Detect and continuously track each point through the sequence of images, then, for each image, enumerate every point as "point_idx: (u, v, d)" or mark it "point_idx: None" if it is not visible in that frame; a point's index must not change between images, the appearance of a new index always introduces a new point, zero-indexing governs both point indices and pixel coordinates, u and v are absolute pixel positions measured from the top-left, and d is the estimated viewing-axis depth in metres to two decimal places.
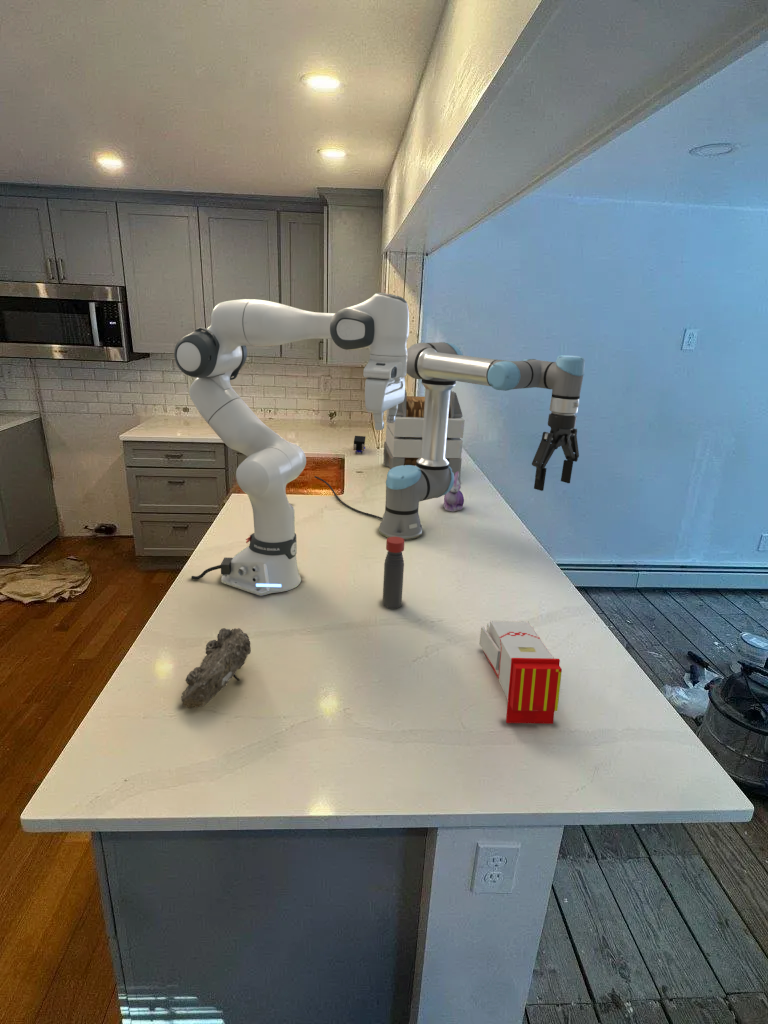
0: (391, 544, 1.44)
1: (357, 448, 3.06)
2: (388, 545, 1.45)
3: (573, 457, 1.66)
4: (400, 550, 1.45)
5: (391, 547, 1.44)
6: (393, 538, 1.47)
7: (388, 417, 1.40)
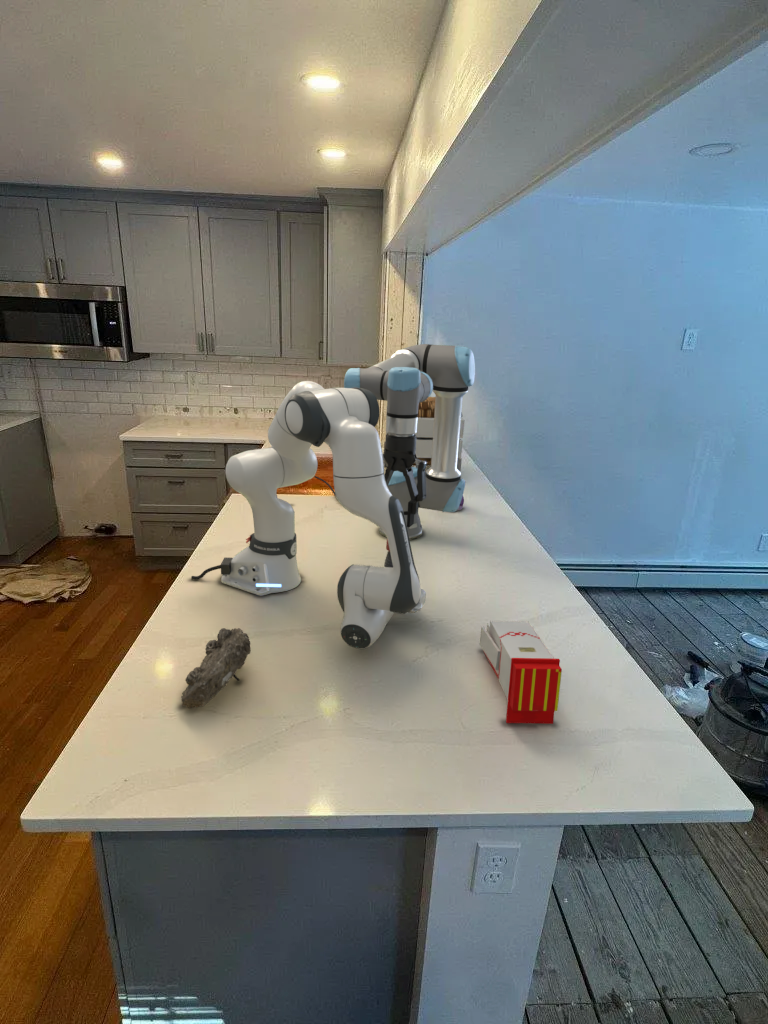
0: None
1: None
2: (388, 545, 1.45)
3: None
4: None
5: None
6: None
7: None
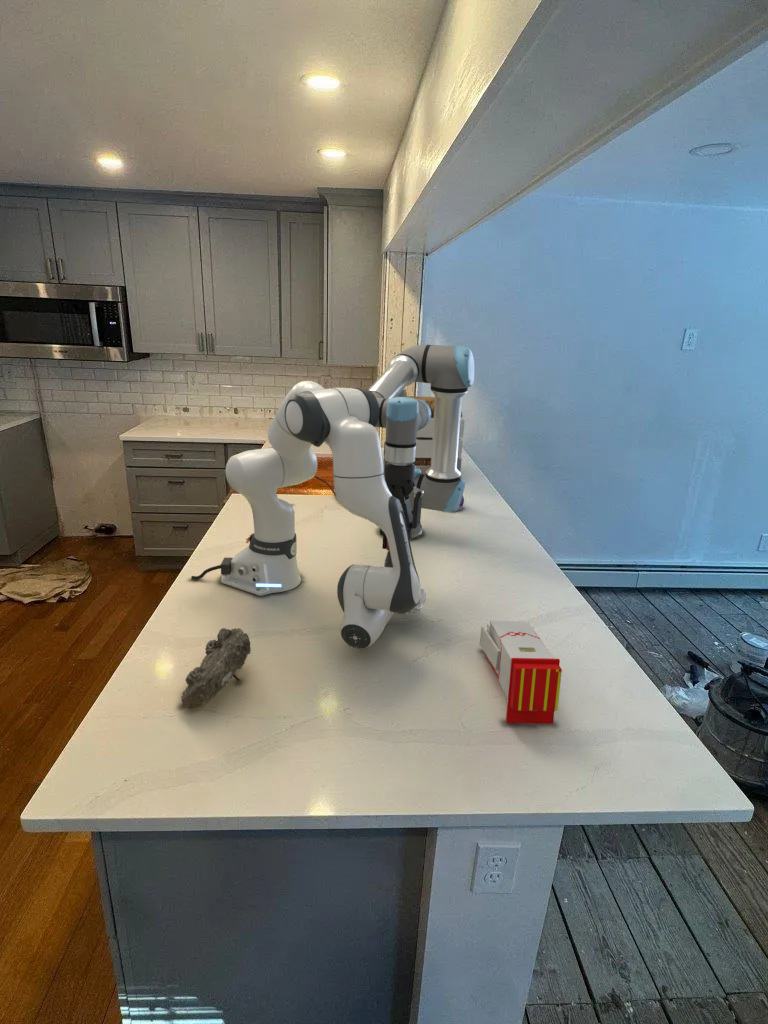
0: None
1: None
2: (388, 545, 1.45)
3: None
4: None
5: None
6: None
7: None
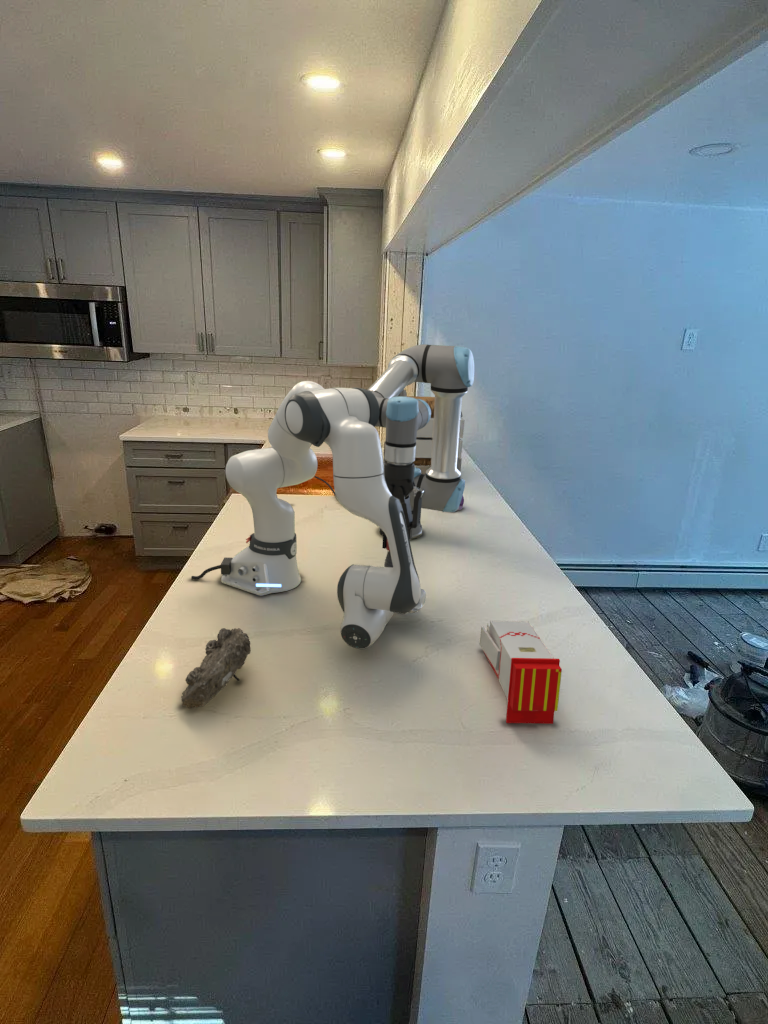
0: None
1: None
2: None
3: None
4: None
5: None
6: None
7: None
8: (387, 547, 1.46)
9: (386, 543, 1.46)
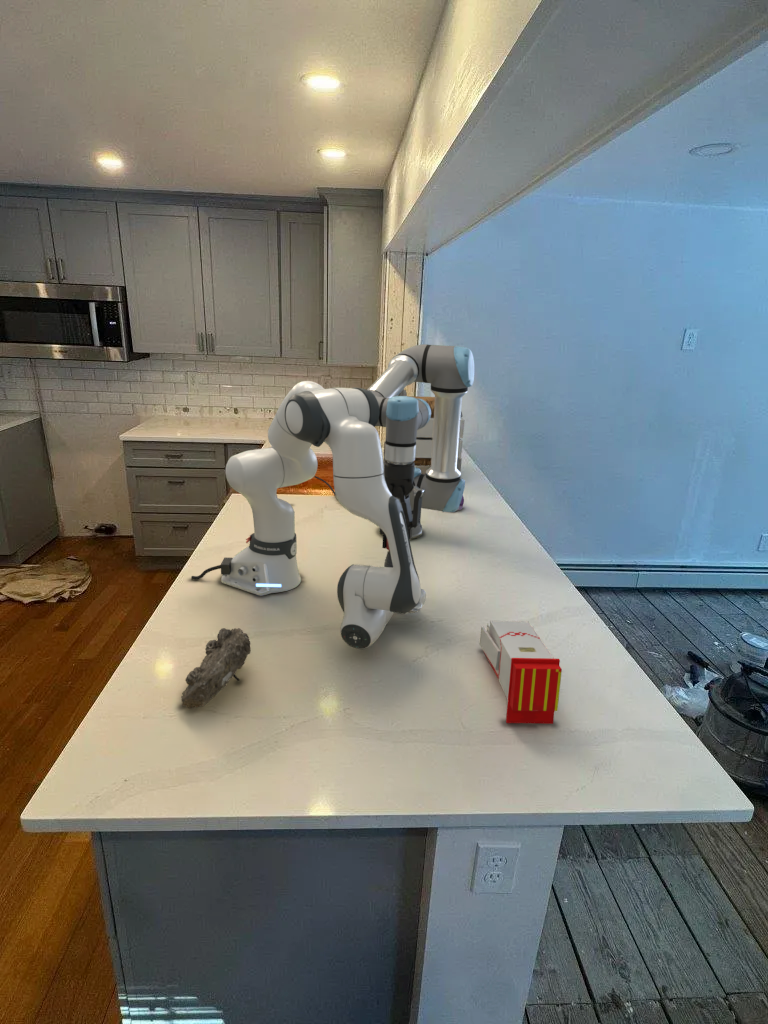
0: None
1: None
2: None
3: None
4: (386, 546, 1.46)
5: None
6: None
7: None
8: None
9: None
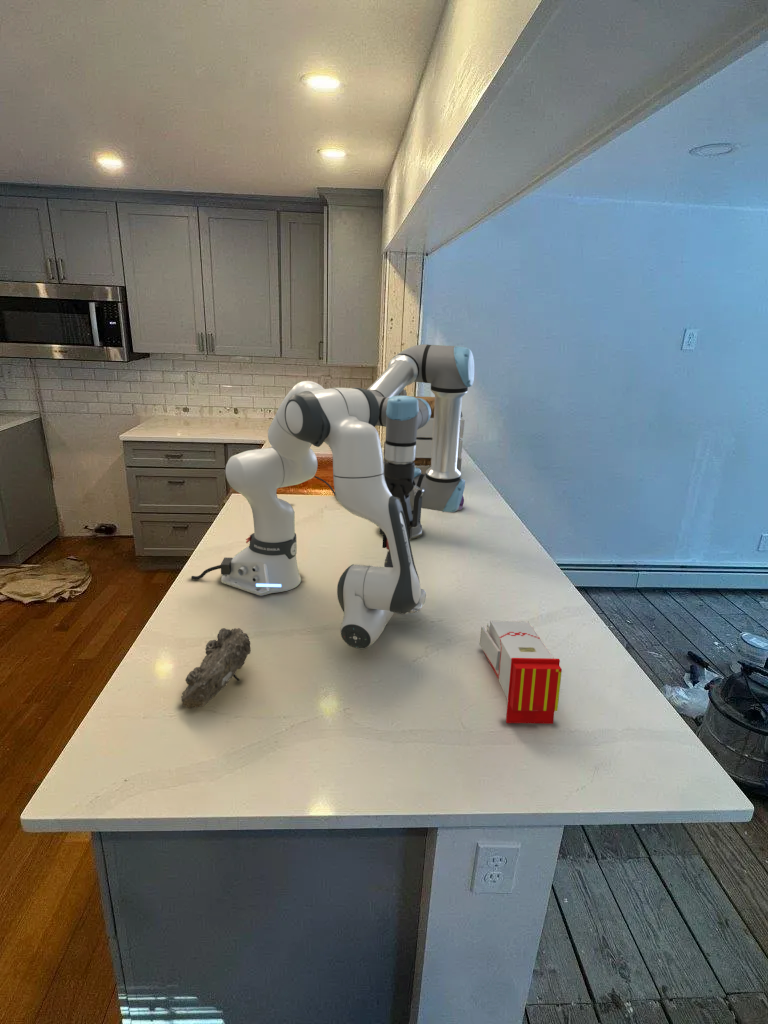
0: None
1: None
2: (387, 544, 1.45)
3: None
4: None
5: None
6: None
7: None
8: None
9: None
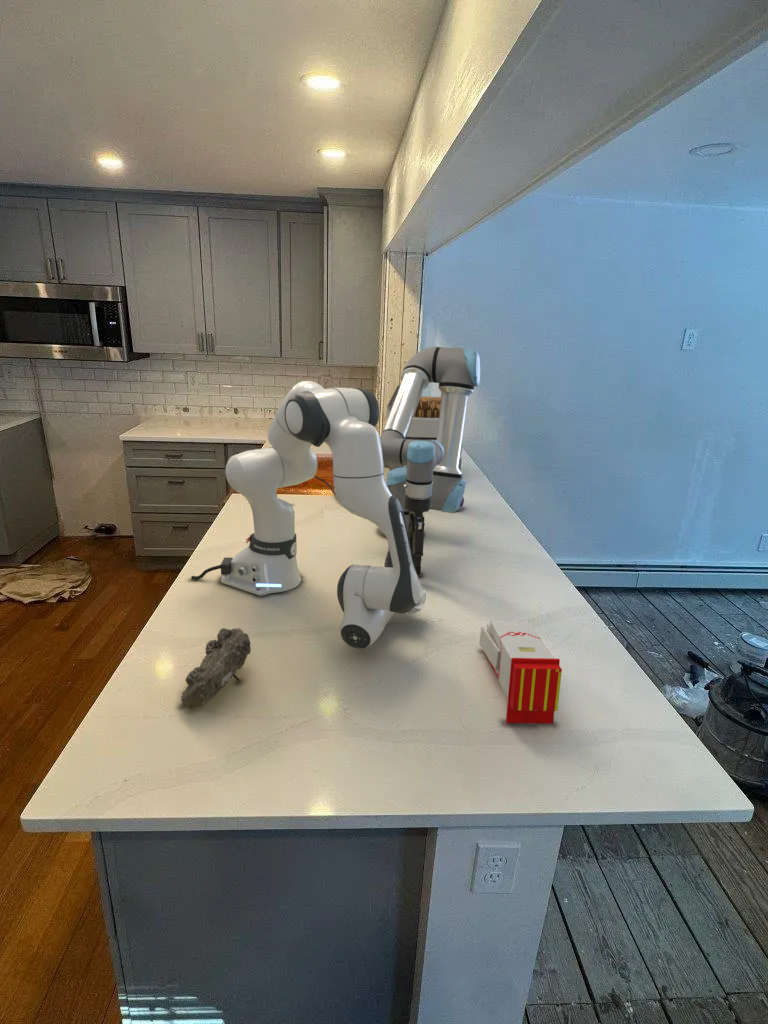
0: None
1: None
2: None
3: (413, 550, 1.62)
4: None
5: (420, 570, 1.69)
6: None
7: None
8: None
9: None
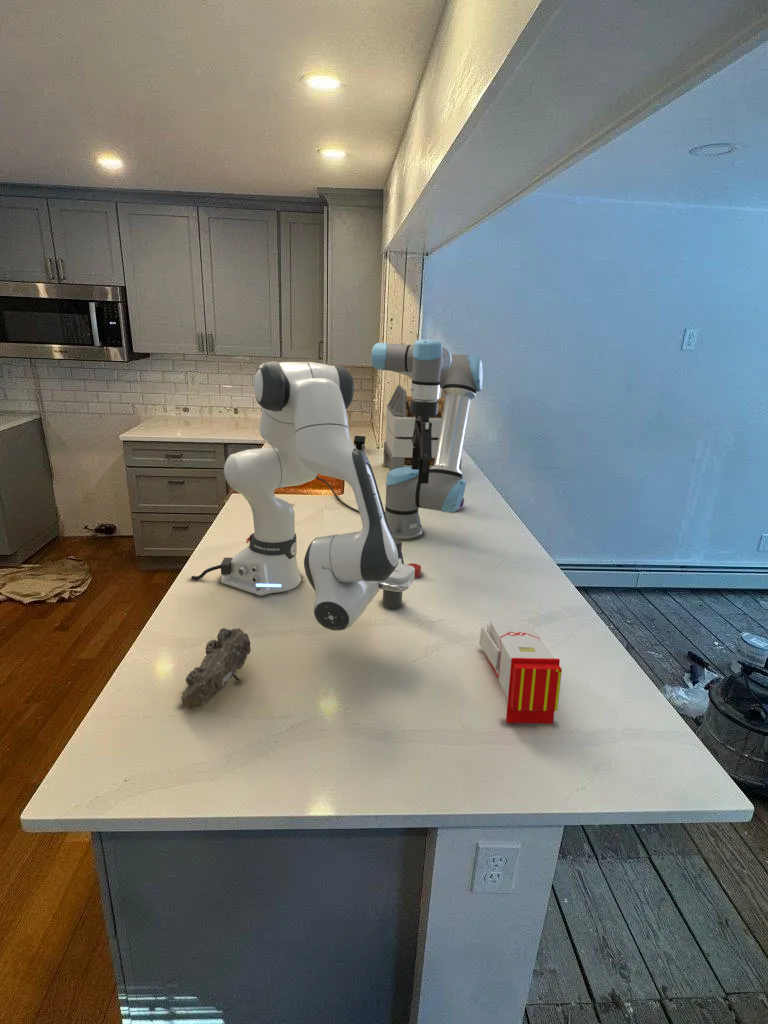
0: (420, 568, 1.69)
1: (357, 448, 3.06)
2: (419, 571, 1.68)
3: (420, 455, 1.50)
4: None
5: (420, 570, 1.69)
6: None
7: None
8: None
9: None
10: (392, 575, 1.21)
